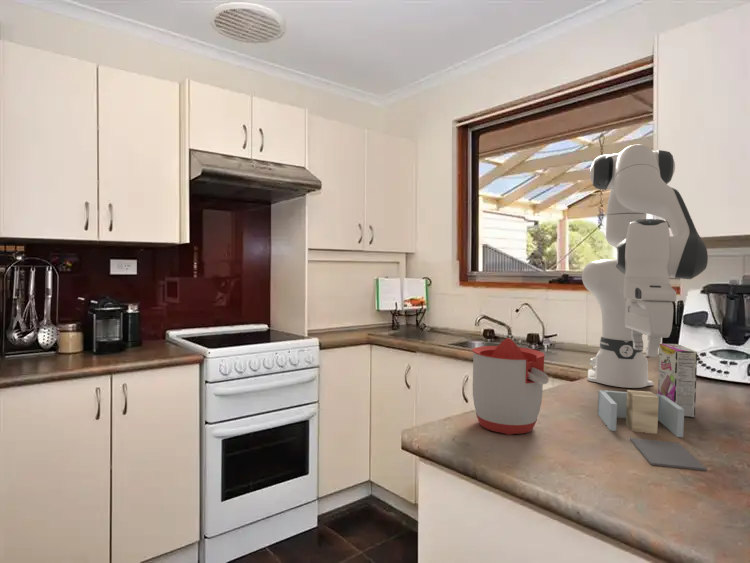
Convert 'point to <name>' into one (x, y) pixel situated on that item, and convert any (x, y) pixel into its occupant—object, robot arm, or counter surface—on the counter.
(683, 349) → the candy bar box
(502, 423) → the citrus juicer
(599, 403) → the open-side box
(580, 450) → the counter surface
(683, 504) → the counter surface
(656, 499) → the counter surface
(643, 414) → the birch block
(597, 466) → the counter surface
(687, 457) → the charcoal mat
